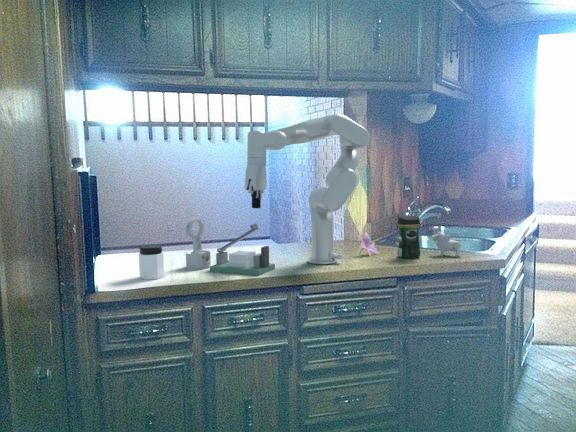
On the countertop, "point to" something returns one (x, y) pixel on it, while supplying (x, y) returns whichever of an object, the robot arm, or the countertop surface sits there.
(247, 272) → the base
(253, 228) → the thin grey bar
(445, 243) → the dog figurine
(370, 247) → the lily
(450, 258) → the countertop surface
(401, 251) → the coffee jar
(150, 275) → the jar
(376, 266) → the countertop surface
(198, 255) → the engine component
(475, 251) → the countertop surface
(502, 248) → the countertop surface
